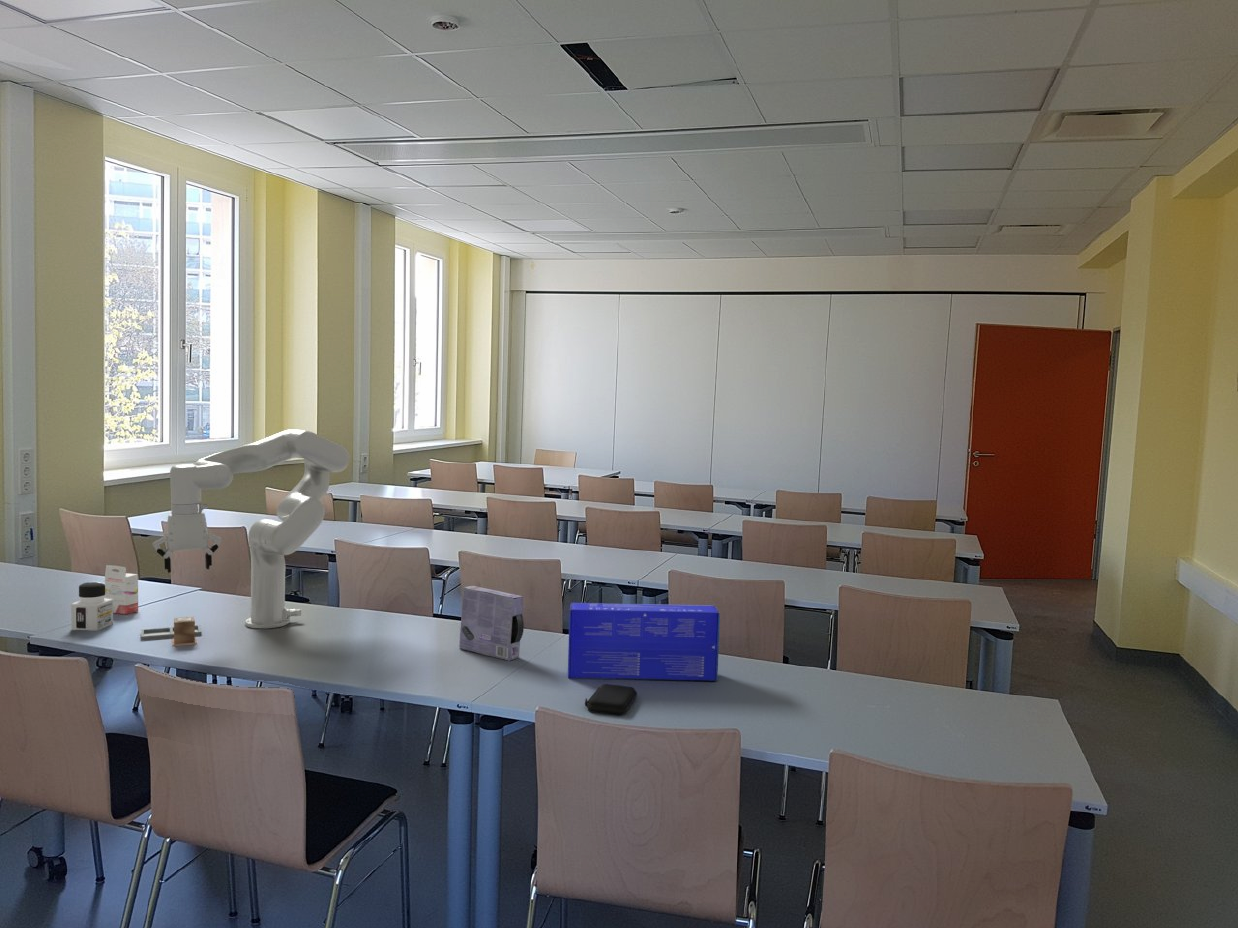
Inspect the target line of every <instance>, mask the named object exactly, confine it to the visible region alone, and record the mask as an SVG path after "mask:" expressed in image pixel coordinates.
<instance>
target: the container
mask: <svg viewBox="0 0 1238 928" xmlns="http://www.w3.org/2000/svg"><path fill="white" fill-rule="evenodd" d="M78 599H79V600H78V601H76V602H75V601H74V602H72V603H71V604H70V621H71V622H70V630H71V631H100V630H102V629H104V628H106V627H109V626H111V625H113V624H114V613H113V599H105V582H101V581H86V582H83V583H81V584H80V585H79V586H78Z"/></svg>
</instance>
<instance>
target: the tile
mask: <svg viewBox="0 0 1238 928" xmlns="http://www.w3.org/2000/svg"><path fill="white" fill-rule="evenodd" d="M171 645H172V647H175V646H176V647H177V646H178V647H179V646H189V645H190V646H191V645H198V641H197V636H195V642H194V643H183V644H174V638H171Z"/></svg>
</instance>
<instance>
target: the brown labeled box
mask: <svg viewBox="0 0 1238 928" xmlns="http://www.w3.org/2000/svg"><path fill="white" fill-rule="evenodd" d="M195 620H196V618H195V616H184V617H174V618H173V627H174V638H173V639H174V644H183V643H194V642H195V637H196V636H195V625H196V621H195Z"/></svg>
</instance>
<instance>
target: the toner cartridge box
mask: <svg viewBox="0 0 1238 928" xmlns="http://www.w3.org/2000/svg"><path fill="white" fill-rule="evenodd" d="M569 606H570V607H569V616H568V617H569V618H568V649H567V650H568V652H567V653H568V654H567V678H568V679H571V680H572V679H573V680H574V679H577V680H578V679H580V680H587V679H589V680H624V681H625V680H626V681H634V680H635V681H712V682H717V681H718V675H719V673H718V671H719V649H720V648H719V647H720V628H721V627H720V625H721V624H720V623H721V612H720V611H719V609H718V608H717V606H715V605H710V604H709V605H707V604H706V605H704V604H702V605H701V604H700V605H699V604H653V603H651V604H650V603H649V604H648V603H646V604H644V603H601V602H600V603H599V602H598V603H597V602H596V603H595V602H592V603H591V602H571V603H570V605H569Z"/></svg>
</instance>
